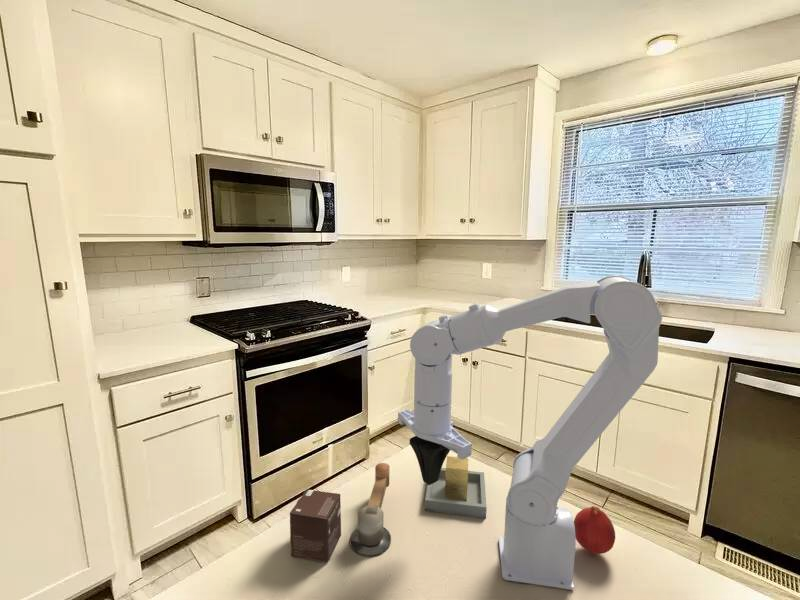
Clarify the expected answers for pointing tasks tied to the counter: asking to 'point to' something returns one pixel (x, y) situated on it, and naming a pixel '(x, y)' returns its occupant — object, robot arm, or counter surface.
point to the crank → (374, 509)
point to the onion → (594, 530)
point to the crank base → (370, 550)
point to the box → (315, 525)
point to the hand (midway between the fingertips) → (430, 481)
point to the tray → (461, 507)
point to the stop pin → (456, 478)
